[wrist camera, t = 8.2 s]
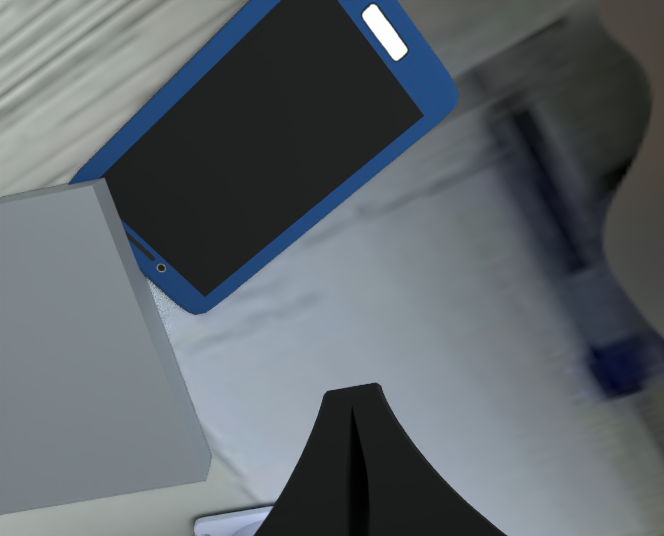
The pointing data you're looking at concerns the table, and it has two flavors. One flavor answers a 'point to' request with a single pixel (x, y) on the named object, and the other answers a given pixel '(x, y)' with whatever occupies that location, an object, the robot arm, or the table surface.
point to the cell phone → (267, 137)
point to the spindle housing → (84, 359)
